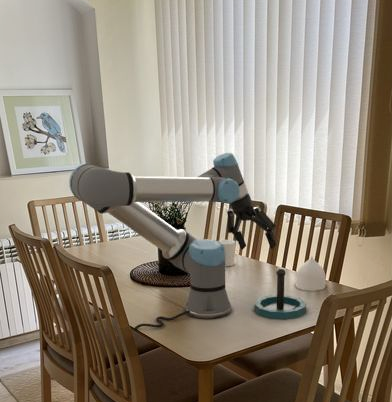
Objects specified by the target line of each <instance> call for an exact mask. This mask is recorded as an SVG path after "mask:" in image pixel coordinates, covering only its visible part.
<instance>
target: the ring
mask: <svg viewBox="0 0 392 402" xmlns="http://www.w3.org/2000/svg"><path fill="white" fill-rule="evenodd" d="M275 302H277V294H273V295H264V296H262V297H259V298H257V299H256V300H255V303H254V312H255V313H256V314H257V315H258V316H261V317H265V318H268V319H272V320H273V319H275V320H289V319H297V318H299V317H301V316H303V315H305V314H306V309H307V308H306V306H307V302H306V301H305V300H303V299H301V298H300V297H296V296H292V295H285V294H284V303H285V304H289V305H292V306H296V307H297V308H295V309H290V310H272V309H268V308H264V307H266V306H268V305H271V304H273V303H275Z"/></svg>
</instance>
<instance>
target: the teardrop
mask: <svg viewBox="0 0 392 402" xmlns="http://www.w3.org/2000/svg"><path fill="white" fill-rule="evenodd" d="M325 272H326V271H325V270H324V267H323V266H322V265H320V264H319V263H318V262H317V261H316V260H315V259H314V257H313V255H311V256H310V258H309V259H308V260H306V261H305V262H303V263H302V264H301V265H300V266H299V268H298V269H297V272H296V278H295V287H296V288H297V289H299V290H300V291H301V290H302V291H309V292H313V291H314V292H315V291H317V292H318V291H321V290H324V289H326V273H325Z"/></svg>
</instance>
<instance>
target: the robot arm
mask: <svg viewBox="0 0 392 402" xmlns="http://www.w3.org/2000/svg"><path fill="white" fill-rule="evenodd" d="M212 163H213V167H211V168H210V169H208V170H206V171H204V172H203V173H201V174H200V175H197V176H143V175H142V176H141V175H133V174H132V173H131V172H129V171H127V172H122V171H116V170H111V169H108V168H105V167H102V166H98V165H96V164H94V163H83V164H80V165H78V166H77V167H75V168H74V169H73V171H72V172H71V174H70V176H69V180H68V181H69V182H68V183H69V185H68V186H69V190H70V191H71V193H72V195H73V196H74V197H75V198H76V199H77V200H78V201H81V202H83V203H85V204H86V205H88V206H89V207H90V208H92V209H93V210H95V211H96V212H98V213H99V214H102V215H103V214H109V215H110V216H111V217H113V218H115V219H116V220H117V221H119V222H120V223H122V224H123V225H125V226H126V227H127V228H129V229H130V230H132V231H133V232H134V233H136V234H138V235H139V236H140V237H142V238H143V239H145V240H146V241H147V242H149V243H150V244H152V245H153V246H155V247H156V248H158V249H159V250H160V251H161V253H162V257H163V258H164V259H166V260H167V261H169V262H170V263H171V264H172V265H173V266H174V267H175V268H177V269H179V270H181V271H183V272H185V273H187V274H188V275H189V282H190V283H189V284H190V289H189V294H188V297H187V302H186V304H185V311H183V312H180V313H177V314H176V315H174V316H171V317H166V316H162V315H161V316H157V317H156V318H155V320H156V322H157V323H158V324H152V323H139V324H137V325H135V327H133V329H132V331H137V330H138V329H139V328H141V327H149V328H161V327H163V326H164V322H163V321H162V320H165V321H173V320H176V319H177V318H180V317H182V316H184V315H185V316H186V315H188V316H190V317H192V318H196V319H202V320H203V319H205V320H210V319H219V318H222V317H226V316H228V315H230V313H231V312H232V305H231V301H230V300H229V296H228V292H227V288H226V266H225V258H226V256H225V249H224V246H223V245H222V244H221V243H220V242H218V241H219V240H215V239H214V240H213V239H207V238H201V239H197V238H196V237H194V236H193V235H192V234H190V233H189V232H188V231H186V230H185V229H183V228H179V229H177V228H175V227H173V226H172V225H171V224H169V223H168V222H166V221H165V220H164V219H163V218H161V217H160V216H158V215H157V214H156V213H154V212H153V211H152V210H150V209H149V208H148V207H146V206H145V205H144V204H142V203H186V202H187V203H189V202H191V203H192V202H193V203H194V202H195V203H199V202H200V203H201V202H203V203H204V202H205V203H206V202H210V203H213V202H215V203H216V202H217V203H220V202H221V204H222V203H223V204H229V206H230V208H229V209H228V210H227V211H226V214H227V233H228V234H232V235H233V237H234V238H235V239H234V240H235V242H237V243H238V246H239V248H240V250H241V251H242V250H244V249H245V248H246V247H247V243H246V241H245V239H244V236H243V233H242V231H241V230H240V227H241V224H242V222H246V221H250V222H252V223H255V224H256V225H257V226H258V227H260V228H261V229H262V230H263V231H264V232H265V233H264V234H265V237H266V240H267V242H268V245H269V248H270V249H271V250H273V249H274V248H275V247H276V246H277V244H276V240H275V239H276V236H275V233H274V230H275V229H276V228H277V225H276V224H275V223H274V221H273V220H272V219H271V218H270V217H269V215H268V214H266V212H265V211H264V210H263V208H262V206H261V205H257V206H255V207H254V206H253V201H252V198H251V196H250V193H249V192H248V191H249V190H248V188H247V185H246V183H245V179H244V177H243V175H242V172H241V169H240V166H239V163H238V161H237V158H236V157H235V155H234V153H232V152H224V153H221V154H219V155H217V156H215V158H214V159H213V160H212ZM235 216H236V218H235Z"/></svg>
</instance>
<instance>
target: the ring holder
mask: <svg viewBox="0 0 392 402" xmlns="http://www.w3.org/2000/svg"><path fill="white" fill-rule="evenodd" d="M275 274H276V295H277V302H275V303H273V304H268V305H265V306H263V307H264V308H268V309H272V310H290V309H295V308H297V307H296V306H294V305H290V304H285V303H284V295H285V281H286V280H285V279H286V278H285V277H286V270H285V269H284V268H281V267H280V268H278V269H277V270H276V272H275Z"/></svg>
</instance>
